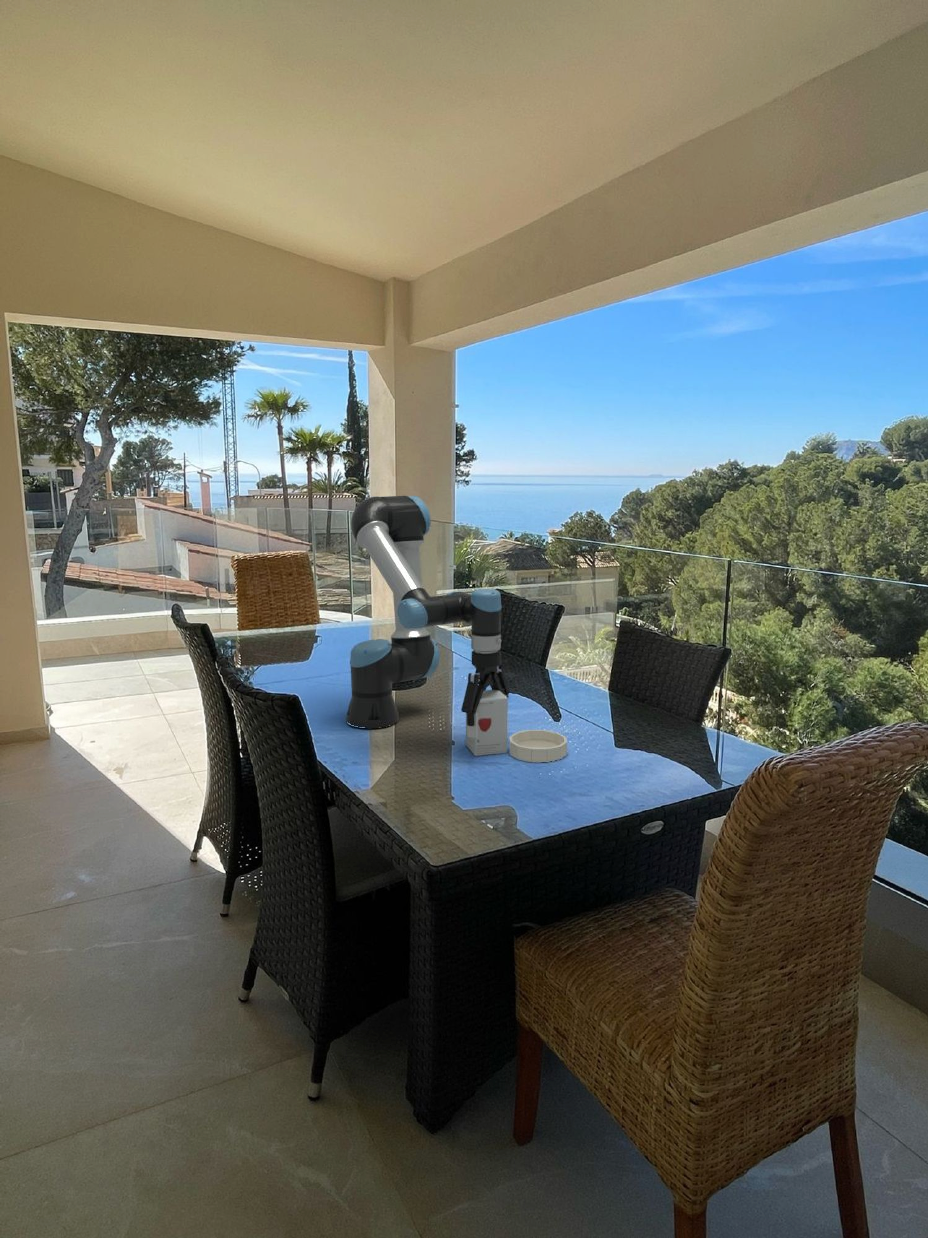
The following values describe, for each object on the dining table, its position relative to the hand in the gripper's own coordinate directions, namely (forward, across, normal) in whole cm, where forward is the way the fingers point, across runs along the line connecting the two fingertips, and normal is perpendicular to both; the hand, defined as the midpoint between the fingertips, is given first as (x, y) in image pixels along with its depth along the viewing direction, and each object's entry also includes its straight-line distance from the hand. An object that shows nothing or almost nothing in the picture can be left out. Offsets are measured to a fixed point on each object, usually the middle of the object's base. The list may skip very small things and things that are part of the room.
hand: (486, 730), depth 200 cm
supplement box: (+6, 0, 0) cm, 6 cm away
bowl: (+5, +5, -12) cm, 14 cm away
